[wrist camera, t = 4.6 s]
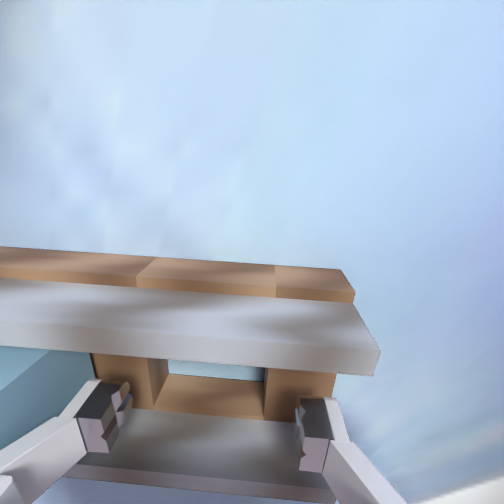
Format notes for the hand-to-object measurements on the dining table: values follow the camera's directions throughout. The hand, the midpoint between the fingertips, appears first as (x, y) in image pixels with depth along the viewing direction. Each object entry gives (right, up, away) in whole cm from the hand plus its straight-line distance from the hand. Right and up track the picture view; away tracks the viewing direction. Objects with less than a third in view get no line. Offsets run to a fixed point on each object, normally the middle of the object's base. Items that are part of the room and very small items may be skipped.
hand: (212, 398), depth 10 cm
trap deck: (-6, +2, +3) cm, 7 cm away
